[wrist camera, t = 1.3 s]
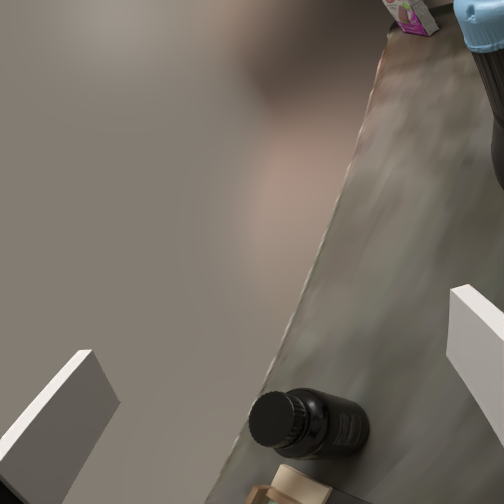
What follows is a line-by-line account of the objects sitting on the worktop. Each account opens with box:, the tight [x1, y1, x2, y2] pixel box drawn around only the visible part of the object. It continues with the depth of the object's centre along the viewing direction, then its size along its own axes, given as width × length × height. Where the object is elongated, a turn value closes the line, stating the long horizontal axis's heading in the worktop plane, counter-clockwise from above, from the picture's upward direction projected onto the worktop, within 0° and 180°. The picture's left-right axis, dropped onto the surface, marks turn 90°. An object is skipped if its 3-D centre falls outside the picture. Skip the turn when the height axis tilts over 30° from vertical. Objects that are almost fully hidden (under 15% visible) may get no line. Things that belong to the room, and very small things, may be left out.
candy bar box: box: [382, 0, 439, 37], centre depth 51 cm, size 11×5×16 cm, turn 13°
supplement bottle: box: [249, 388, 368, 460], centre depth 26 cm, size 7×7×12 cm
